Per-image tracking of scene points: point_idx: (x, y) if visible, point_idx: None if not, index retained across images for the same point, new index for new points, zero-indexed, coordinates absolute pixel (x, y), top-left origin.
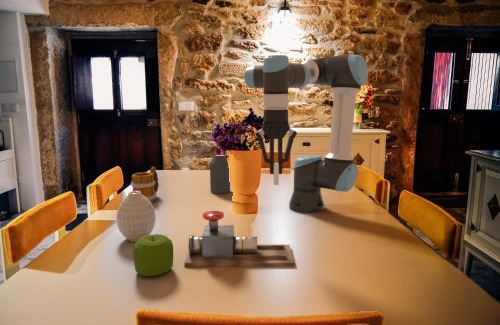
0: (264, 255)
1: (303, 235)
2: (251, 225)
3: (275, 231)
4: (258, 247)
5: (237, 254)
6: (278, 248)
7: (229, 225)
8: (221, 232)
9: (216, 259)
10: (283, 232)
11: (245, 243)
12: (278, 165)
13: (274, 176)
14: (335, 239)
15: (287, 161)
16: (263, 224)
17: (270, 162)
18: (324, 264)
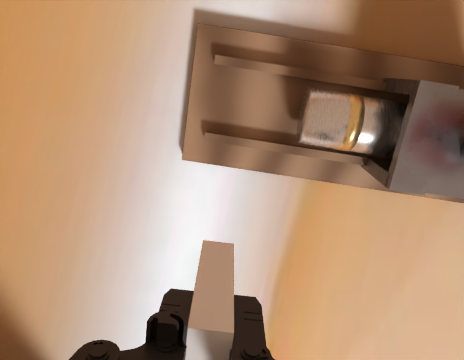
0: (286, 68)
1: (118, 241)
2: None
3: None
4: (287, 144)
5: None
6: (224, 134)
7: (406, 190)
8: (453, 123)
9: None
10: (176, 272)
11: (351, 99)
12: (190, 322)
13: (229, 272)
14: (24, 197)
15: (89, 342)
16: None
17: (268, 356)
18: (102, 25)
